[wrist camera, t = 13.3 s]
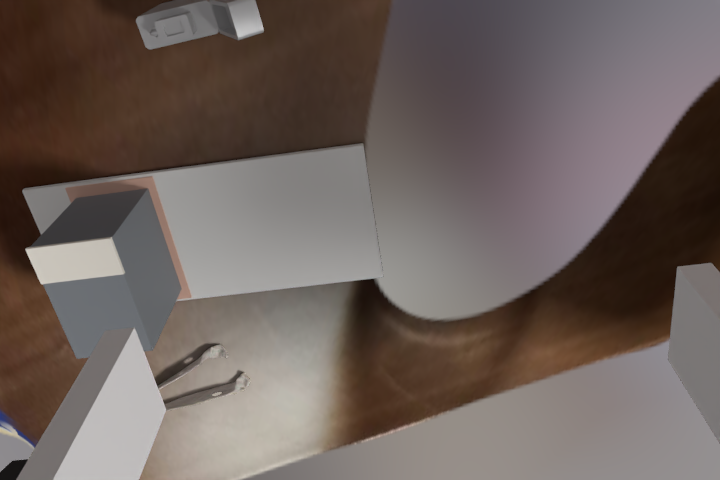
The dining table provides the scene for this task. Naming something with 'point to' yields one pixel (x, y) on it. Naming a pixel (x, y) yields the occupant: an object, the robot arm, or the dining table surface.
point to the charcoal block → (107, 269)
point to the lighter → (198, 21)
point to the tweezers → (206, 395)
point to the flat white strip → (251, 219)
